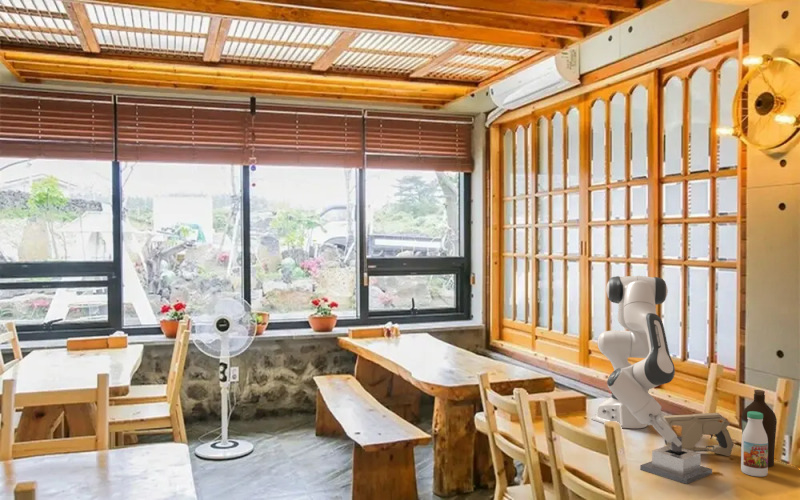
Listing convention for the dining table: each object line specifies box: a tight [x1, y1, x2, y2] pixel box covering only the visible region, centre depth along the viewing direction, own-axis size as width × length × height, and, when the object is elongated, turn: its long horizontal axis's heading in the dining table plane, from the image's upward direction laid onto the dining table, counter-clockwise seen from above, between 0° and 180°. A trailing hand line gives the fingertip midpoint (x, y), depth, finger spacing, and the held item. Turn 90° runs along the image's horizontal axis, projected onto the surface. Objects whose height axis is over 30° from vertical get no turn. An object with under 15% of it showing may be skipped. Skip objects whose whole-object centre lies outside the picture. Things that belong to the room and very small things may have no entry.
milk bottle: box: [740, 411, 769, 477], centre depth 213 cm, size 8×8×20 cm
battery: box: [671, 425, 682, 456], centre depth 213 cm, size 3×3×12 cm
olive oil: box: [741, 389, 778, 468], centre depth 223 cm, size 11×11×25 cm
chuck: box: [639, 445, 713, 485], centre depth 213 cm, size 16×16×6 cm
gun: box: [663, 412, 734, 457], centre depth 232 cm, size 24×3×15 cm, turn 84°
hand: (678, 442), depth 213 cm, fingers closed on battery, 3 cm apart
